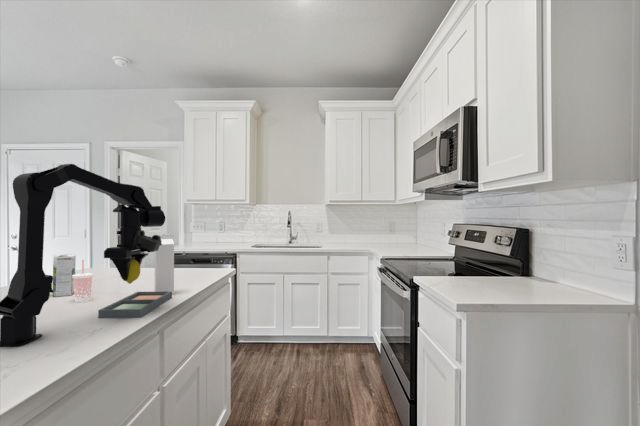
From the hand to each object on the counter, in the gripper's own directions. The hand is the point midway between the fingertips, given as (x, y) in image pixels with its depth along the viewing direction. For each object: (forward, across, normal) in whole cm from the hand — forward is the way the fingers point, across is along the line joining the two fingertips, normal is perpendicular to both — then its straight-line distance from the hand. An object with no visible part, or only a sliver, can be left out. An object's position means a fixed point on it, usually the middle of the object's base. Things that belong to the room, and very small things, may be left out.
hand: (130, 278), depth 106 cm
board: (+10, +6, 0) cm, 12 cm away
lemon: (+2, 0, 0) cm, 2 cm away
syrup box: (+10, +24, +35) cm, 44 cm away
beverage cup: (+10, +15, +23) cm, 29 cm away
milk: (+10, +24, -1) cm, 26 cm away
